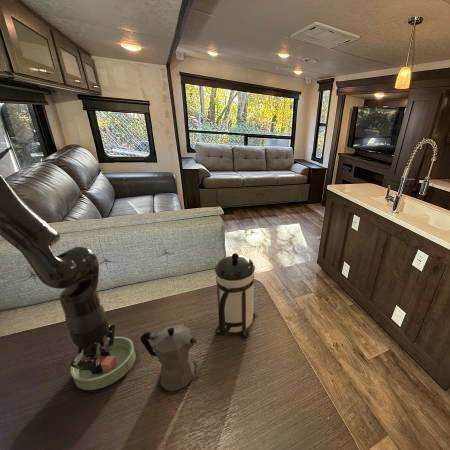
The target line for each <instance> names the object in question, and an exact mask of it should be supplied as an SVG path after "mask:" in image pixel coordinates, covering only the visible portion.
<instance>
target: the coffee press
mask: <svg viewBox="0 0 450 450" xmlns="http://www.w3.org/2000/svg"><path fill="white" fill-rule="evenodd" d="M255 270H256V265H255V263H254V262H253V261H252V259H251V258H249V257H248V256H246V255H244V254H238V253H237V252H234V253H232V254H231V255H227V256H224V257H222V258H221V259H219V261H218V262H217V264H216V265H215V267H214V272H215V275H216V277H215V281H216V282H215V283H216V295H217V313H218V325H217V327H216V329H215V331H216V333H217V334H220V336H222V337H226V336H227V335H228V334H229V333H241V337H242V338H246V337H248V332H247V329H248V328H249V327H250V326H251V324H252V323H253V319H254V318H255V317H256V314H255V313H254V283H255V274H254V273H255Z"/></svg>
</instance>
